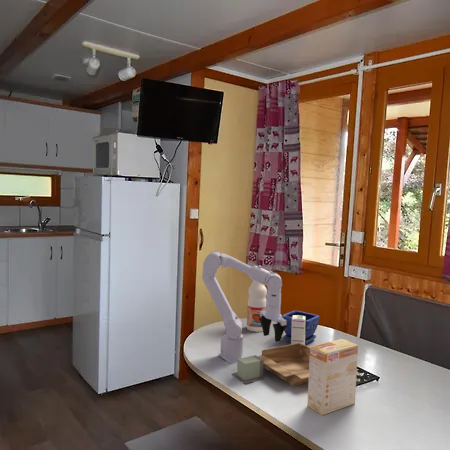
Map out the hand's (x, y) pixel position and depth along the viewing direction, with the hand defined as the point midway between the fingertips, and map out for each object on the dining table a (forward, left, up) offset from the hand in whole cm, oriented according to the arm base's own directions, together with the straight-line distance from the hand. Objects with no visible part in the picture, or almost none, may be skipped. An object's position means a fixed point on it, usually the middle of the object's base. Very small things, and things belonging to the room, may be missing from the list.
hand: (271, 338), depth 167 cm
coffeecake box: (+37, -4, -10) cm, 38 cm away
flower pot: (-14, +27, -10) cm, 32 cm away
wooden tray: (+14, +1, -9) cm, 17 cm away
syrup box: (-5, +18, -10) cm, 21 cm away
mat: (+8, -16, -9) cm, 20 cm away
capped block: (+8, -16, -9) cm, 20 cm away
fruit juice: (-36, +18, -10) cm, 41 cm away
